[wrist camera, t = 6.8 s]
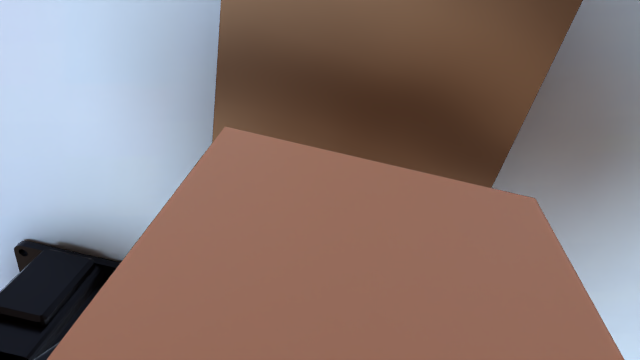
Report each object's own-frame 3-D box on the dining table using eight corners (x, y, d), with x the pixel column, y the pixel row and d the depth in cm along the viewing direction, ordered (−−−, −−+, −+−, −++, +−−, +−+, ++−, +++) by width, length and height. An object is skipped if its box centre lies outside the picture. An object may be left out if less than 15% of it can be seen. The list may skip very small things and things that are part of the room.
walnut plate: (450, 240, 20) (455, 262, 19) (219, 187, 20) (208, 205, 19) (566, -13, 14) (585, -6, 13) (240, -86, 14) (226, -87, 13)
